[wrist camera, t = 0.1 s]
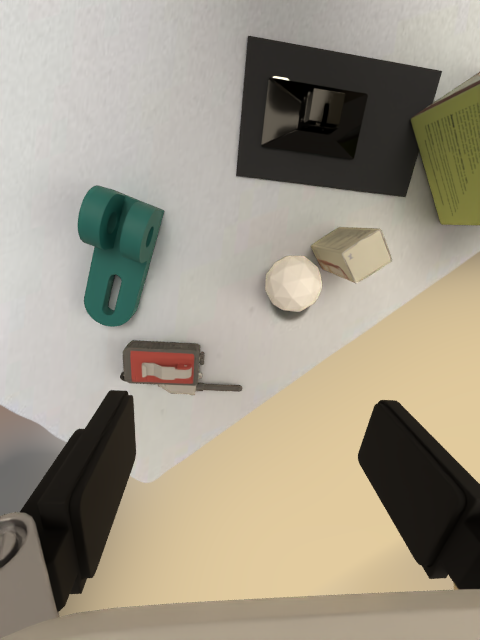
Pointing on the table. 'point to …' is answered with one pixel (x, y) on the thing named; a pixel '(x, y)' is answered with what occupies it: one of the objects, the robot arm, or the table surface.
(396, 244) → the table surface
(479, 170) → the protein box
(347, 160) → the desk mat
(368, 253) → the printed cream carton
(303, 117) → the build plate
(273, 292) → the geometric ball
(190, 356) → the walkie-talkie
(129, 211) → the bracket
